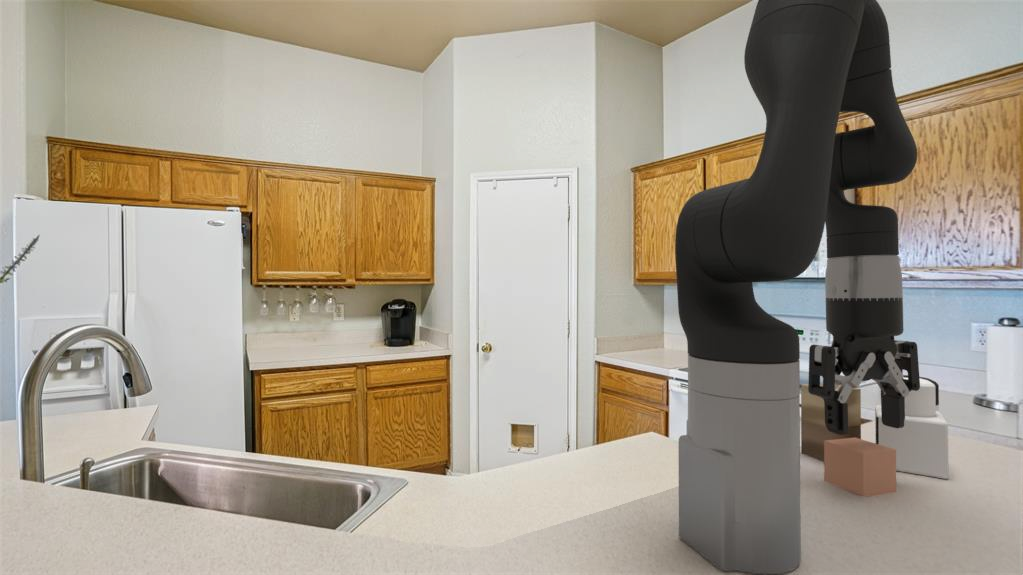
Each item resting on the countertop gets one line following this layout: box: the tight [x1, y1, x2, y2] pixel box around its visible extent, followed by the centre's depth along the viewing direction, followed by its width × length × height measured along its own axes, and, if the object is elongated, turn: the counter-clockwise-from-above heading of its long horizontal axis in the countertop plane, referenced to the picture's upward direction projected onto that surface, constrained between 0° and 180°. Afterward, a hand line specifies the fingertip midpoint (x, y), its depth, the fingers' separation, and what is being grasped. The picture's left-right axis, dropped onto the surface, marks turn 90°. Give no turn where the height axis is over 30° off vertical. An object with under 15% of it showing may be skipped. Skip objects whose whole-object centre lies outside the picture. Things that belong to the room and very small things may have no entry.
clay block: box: [823, 438, 897, 497], centre depth 58 cm, size 5×5×5 cm
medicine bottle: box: [874, 374, 950, 480], centre depth 65 cm, size 7×7×12 cm
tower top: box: [800, 382, 862, 426], centre depth 69 cm, size 5×5×5 cm
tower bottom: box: [800, 418, 862, 462], centre depth 69 cm, size 5×5×5 cm
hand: (865, 429), depth 58 cm, fingers open, 8 cm apart
